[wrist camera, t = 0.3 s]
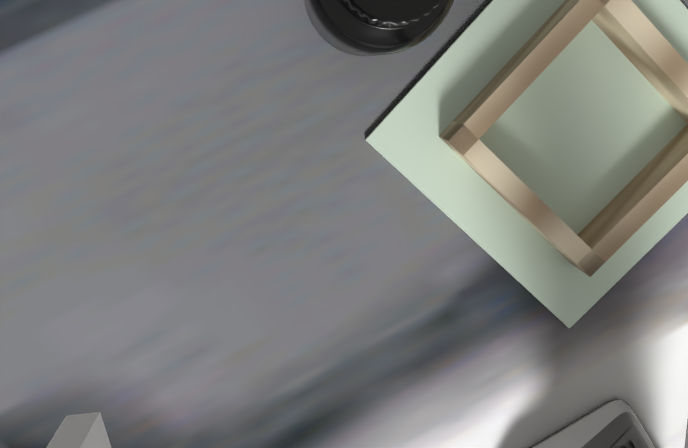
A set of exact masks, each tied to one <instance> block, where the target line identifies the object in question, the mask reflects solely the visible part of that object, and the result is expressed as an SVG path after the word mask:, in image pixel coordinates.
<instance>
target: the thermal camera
mask: <svg viewBox="0 0 688 448" xmlns="http://www.w3.org/2000/svg"><path fill="white" fill-rule="evenodd" d="M531 448H655V447H654V445H653V443H652V442H651V440H650V438H649V436H648V435H647V433H646V431H645V430H644V428H643V426H642V425H641V423H640V421H639V420H638V418H637V417H636V415H635V413H634V412H633V411H632V409H631V408H630V406H629V405H628V404H627V403H626V402H624V401H622V400H613V401H610V402H607V403H605V404H604V405H602V406H600V407H599V408H597V409H595V410H594V411H592V412H590V413H588V414H587V415H585V416H583V417H582V418H580V419H578V420H577V421H575V422H573V423H572V424H570V425H568V426H566V427H565V428H563V429H561V430H560V431H558V432H556V433H555V434H553V435H551V436H550V437H548V438H546V439H544V440H543V441H541V442H539V443H538V444H536V445H534V446H533V447H531Z"/></svg>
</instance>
